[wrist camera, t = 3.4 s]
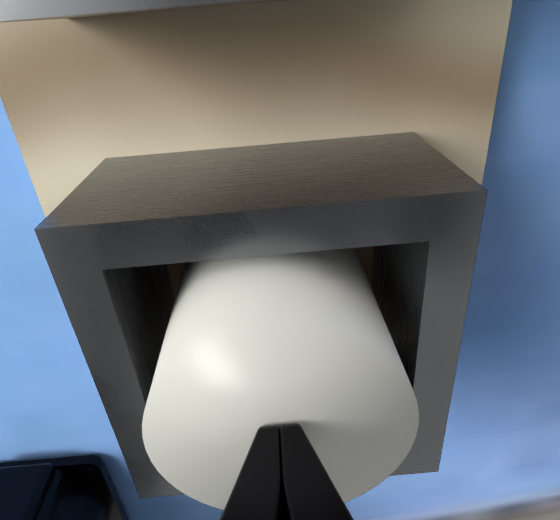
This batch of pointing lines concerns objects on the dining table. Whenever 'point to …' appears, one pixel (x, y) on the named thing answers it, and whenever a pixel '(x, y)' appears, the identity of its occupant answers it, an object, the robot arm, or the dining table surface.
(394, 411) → the white rounded tapered piece
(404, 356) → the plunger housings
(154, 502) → the dining table surface
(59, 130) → the board
